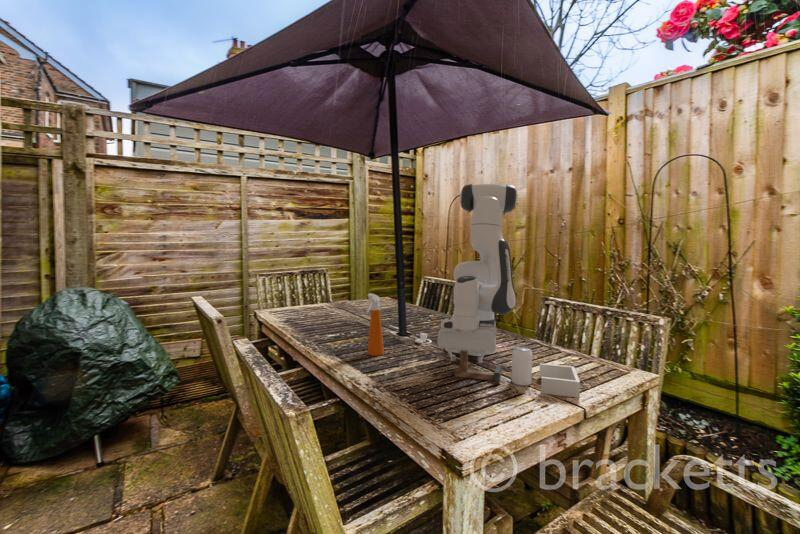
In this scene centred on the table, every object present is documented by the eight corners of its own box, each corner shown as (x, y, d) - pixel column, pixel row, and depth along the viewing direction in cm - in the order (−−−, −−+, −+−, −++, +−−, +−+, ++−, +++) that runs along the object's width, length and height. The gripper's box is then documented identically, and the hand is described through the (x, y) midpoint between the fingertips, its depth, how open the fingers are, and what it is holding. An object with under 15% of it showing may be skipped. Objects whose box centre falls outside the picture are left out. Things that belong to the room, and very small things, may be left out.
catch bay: (541, 393, 117) (541, 377, 117) (539, 377, 130) (539, 363, 130) (579, 397, 114) (580, 382, 113) (573, 380, 127) (574, 366, 126)
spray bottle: (359, 357, 152) (358, 293, 150) (372, 349, 162) (372, 290, 159) (374, 359, 149) (374, 295, 147) (387, 352, 159) (386, 291, 156)
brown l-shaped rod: (453, 379, 129) (453, 353, 128) (457, 371, 136) (457, 347, 136) (499, 384, 124) (499, 358, 123) (500, 376, 131) (501, 351, 131)
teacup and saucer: (417, 345, 169) (417, 336, 169) (410, 341, 176) (410, 332, 176) (434, 343, 173) (434, 334, 172) (426, 339, 180) (426, 330, 180)
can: (521, 387, 121) (522, 352, 120) (507, 380, 127) (508, 346, 126) (535, 384, 124) (536, 349, 123) (521, 377, 130) (522, 344, 129)
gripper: (497, 322, 129) (497, 361, 130) (439, 319, 135) (439, 356, 136) (496, 326, 123) (496, 366, 124) (436, 323, 129) (436, 362, 130)
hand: (466, 361), depth 130 cm, fingers open, 8 cm apart
